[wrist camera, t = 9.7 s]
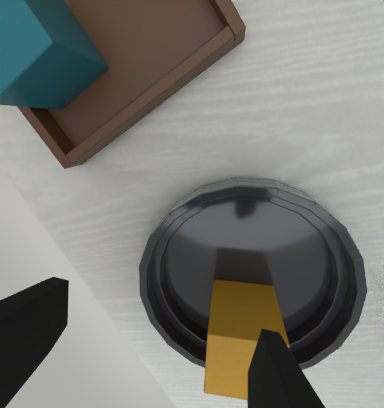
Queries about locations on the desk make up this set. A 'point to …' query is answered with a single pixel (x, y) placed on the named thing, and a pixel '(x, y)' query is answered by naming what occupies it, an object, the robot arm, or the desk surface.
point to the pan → (253, 265)
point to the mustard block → (237, 333)
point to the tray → (135, 67)
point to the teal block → (44, 54)
